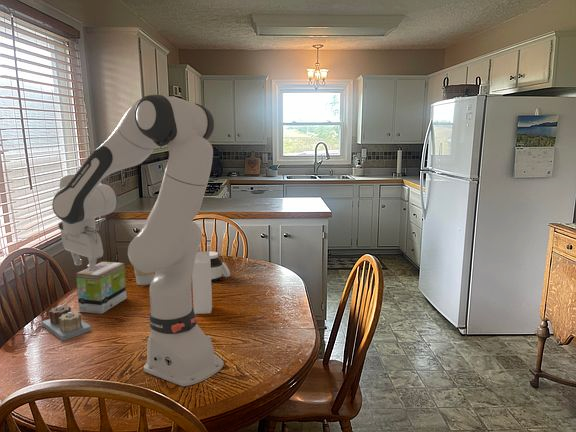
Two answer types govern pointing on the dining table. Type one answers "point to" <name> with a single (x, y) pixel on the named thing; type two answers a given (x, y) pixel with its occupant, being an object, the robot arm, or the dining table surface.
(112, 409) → the dining table surface
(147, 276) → the coffee cup
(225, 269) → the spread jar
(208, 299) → the milk
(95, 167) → the robot arm
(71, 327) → the birch gear
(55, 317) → the walnut gear
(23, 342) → the dining table surface
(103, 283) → the tea box
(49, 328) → the gear board
